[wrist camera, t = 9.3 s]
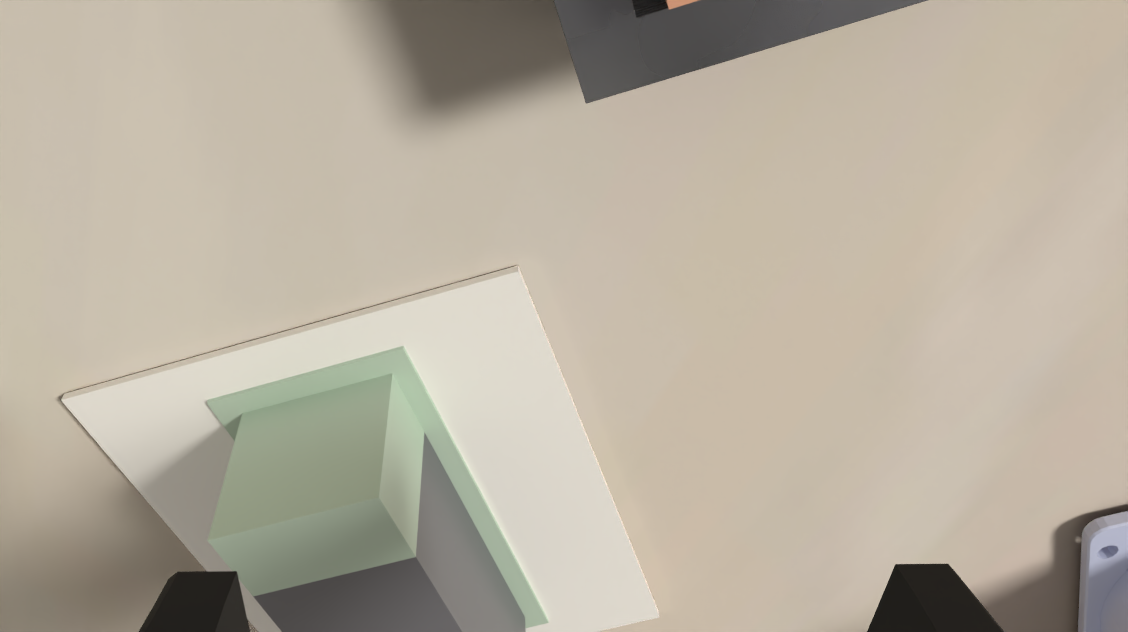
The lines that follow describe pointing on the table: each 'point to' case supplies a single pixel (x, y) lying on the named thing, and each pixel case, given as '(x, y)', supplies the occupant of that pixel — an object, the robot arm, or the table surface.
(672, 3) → the button
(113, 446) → the paper sheet
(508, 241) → the table surface
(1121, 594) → the robot arm
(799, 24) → the button housing
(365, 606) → the block
